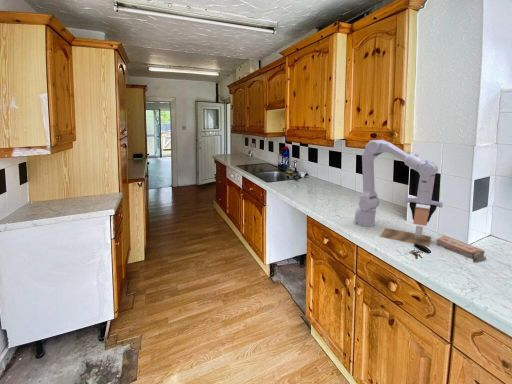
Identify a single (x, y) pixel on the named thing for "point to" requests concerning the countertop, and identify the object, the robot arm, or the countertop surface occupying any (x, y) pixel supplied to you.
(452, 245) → the packaged product
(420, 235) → the post
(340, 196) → the countertop surface
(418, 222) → the orange rectangular block
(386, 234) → the board
